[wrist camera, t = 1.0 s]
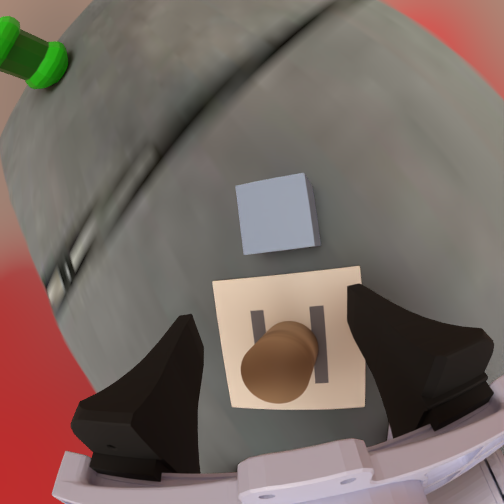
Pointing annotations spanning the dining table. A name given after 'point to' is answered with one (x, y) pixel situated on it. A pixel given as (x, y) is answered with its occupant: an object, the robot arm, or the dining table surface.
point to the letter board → (299, 310)
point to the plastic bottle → (30, 56)
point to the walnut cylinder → (280, 363)
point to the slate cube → (278, 214)
